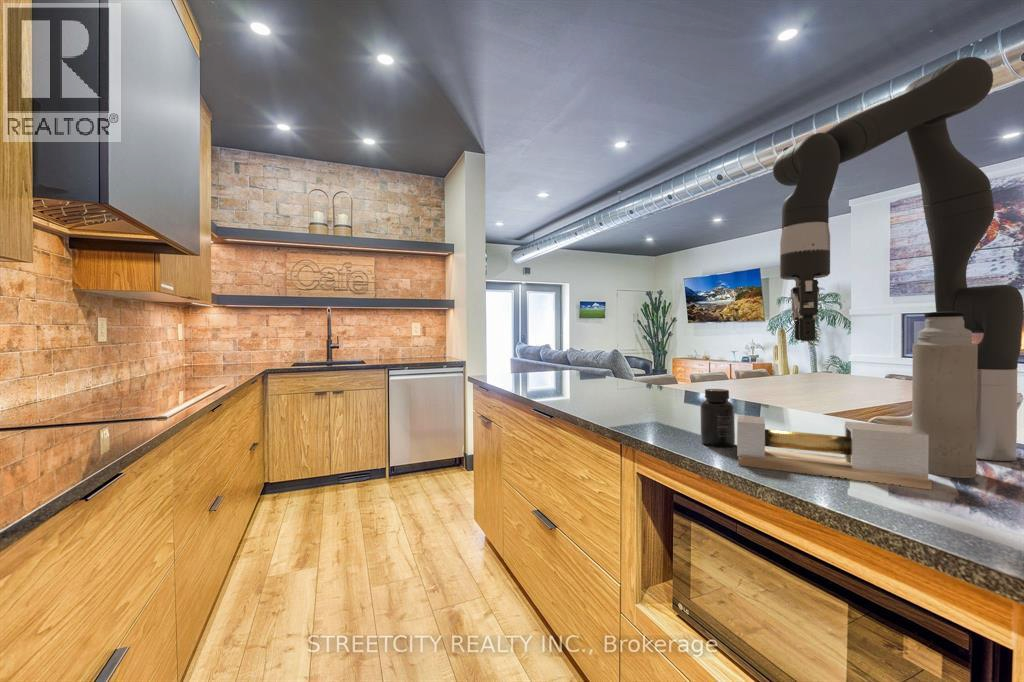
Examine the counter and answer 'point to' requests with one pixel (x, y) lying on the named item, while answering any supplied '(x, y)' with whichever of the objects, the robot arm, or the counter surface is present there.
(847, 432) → the sleeve socket
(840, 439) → the tube
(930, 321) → the thermos bottle
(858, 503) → the counter surface
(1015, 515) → the counter surface
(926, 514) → the counter surface
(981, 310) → the robot arm
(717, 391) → the supplement bottle
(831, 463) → the base board
